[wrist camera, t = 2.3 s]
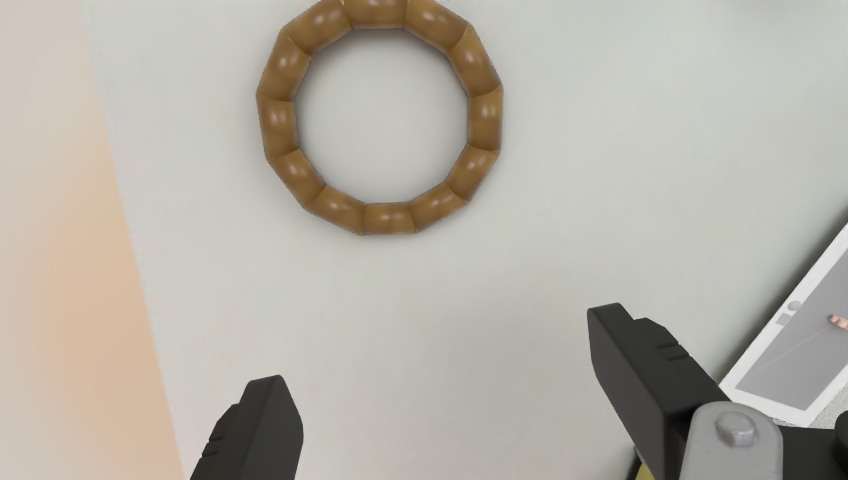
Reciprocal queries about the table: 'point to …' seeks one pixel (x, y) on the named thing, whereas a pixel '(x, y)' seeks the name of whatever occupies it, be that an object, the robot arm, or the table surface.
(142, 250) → the table surface
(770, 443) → the robot arm
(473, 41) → the ring
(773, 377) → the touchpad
